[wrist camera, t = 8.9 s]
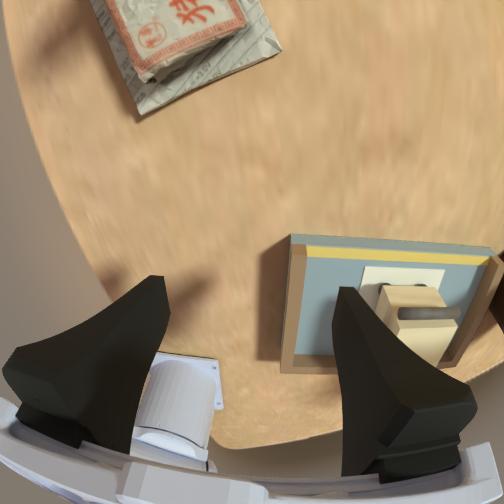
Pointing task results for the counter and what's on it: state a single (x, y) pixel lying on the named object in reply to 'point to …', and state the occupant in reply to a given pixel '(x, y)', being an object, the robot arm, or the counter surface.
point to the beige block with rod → (418, 318)
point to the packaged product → (182, 43)
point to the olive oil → (498, 303)
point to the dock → (367, 284)
